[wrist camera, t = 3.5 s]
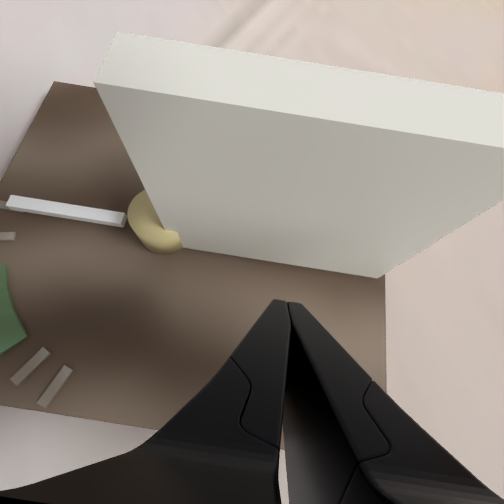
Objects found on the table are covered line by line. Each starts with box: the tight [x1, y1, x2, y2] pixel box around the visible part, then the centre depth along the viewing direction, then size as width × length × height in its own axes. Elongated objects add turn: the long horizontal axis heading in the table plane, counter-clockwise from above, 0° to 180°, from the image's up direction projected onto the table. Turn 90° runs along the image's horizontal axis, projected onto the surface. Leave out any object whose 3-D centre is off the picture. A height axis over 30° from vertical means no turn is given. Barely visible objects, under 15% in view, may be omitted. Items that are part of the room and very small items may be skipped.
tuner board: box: [0, 81, 387, 450], centre depth 16 cm, size 17×20×2 cm
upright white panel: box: [5, 31, 504, 278], centre depth 11 cm, size 3×18×9 cm, turn 82°
